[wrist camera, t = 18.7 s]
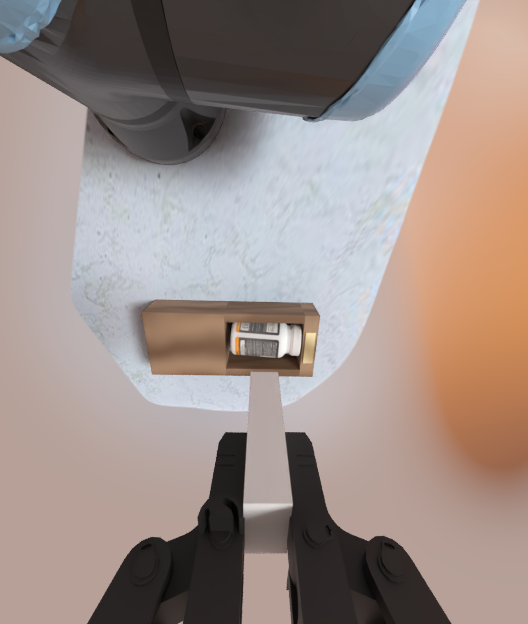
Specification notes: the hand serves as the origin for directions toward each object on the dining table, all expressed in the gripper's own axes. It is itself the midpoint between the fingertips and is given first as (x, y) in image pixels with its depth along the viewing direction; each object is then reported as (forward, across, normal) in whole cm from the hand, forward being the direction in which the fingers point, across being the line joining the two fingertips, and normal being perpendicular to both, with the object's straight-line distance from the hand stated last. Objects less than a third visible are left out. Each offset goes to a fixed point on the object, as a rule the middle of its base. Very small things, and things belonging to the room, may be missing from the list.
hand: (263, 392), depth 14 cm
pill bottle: (+22, -4, -8) cm, 23 cm away
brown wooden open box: (+24, -4, -8) cm, 26 cm away
